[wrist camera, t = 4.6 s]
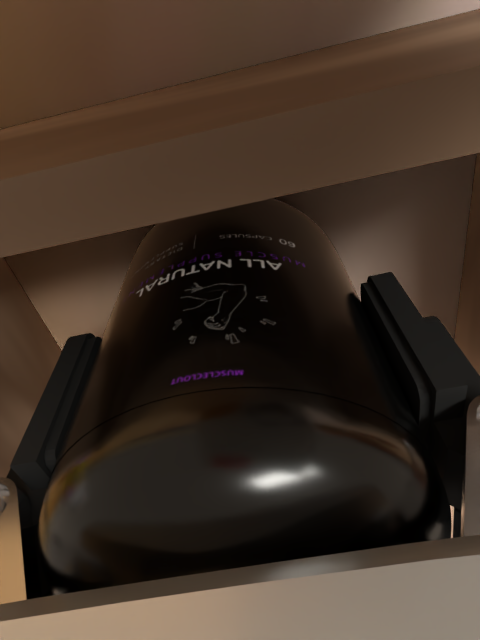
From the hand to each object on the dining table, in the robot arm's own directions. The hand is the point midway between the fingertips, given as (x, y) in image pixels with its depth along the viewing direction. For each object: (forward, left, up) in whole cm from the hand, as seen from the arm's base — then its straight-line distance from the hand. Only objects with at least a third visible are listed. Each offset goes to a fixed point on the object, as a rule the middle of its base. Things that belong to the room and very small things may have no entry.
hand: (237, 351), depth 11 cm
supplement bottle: (0, 0, -3) cm, 3 cm away
